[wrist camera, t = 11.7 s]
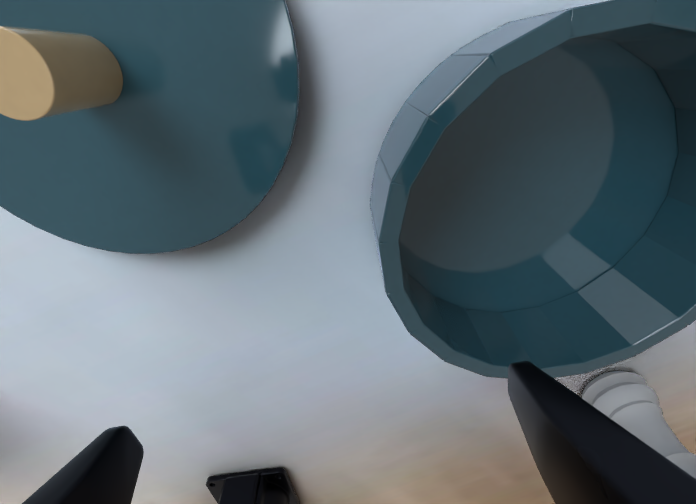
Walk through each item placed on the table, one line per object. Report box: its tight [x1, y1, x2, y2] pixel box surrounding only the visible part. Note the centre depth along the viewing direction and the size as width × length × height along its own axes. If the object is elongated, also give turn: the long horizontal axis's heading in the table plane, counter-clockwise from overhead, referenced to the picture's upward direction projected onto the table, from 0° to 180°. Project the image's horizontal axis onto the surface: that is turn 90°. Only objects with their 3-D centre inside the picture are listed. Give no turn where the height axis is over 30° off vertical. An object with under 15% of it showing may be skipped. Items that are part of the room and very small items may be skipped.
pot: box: [370, 0, 696, 379], centre depth 16 cm, size 16×16×5 cm
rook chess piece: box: [582, 370, 696, 479], centre depth 22 cm, size 4×4×8 cm
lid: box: [0, 0, 300, 254], centre depth 13 cm, size 17×17×5 cm
